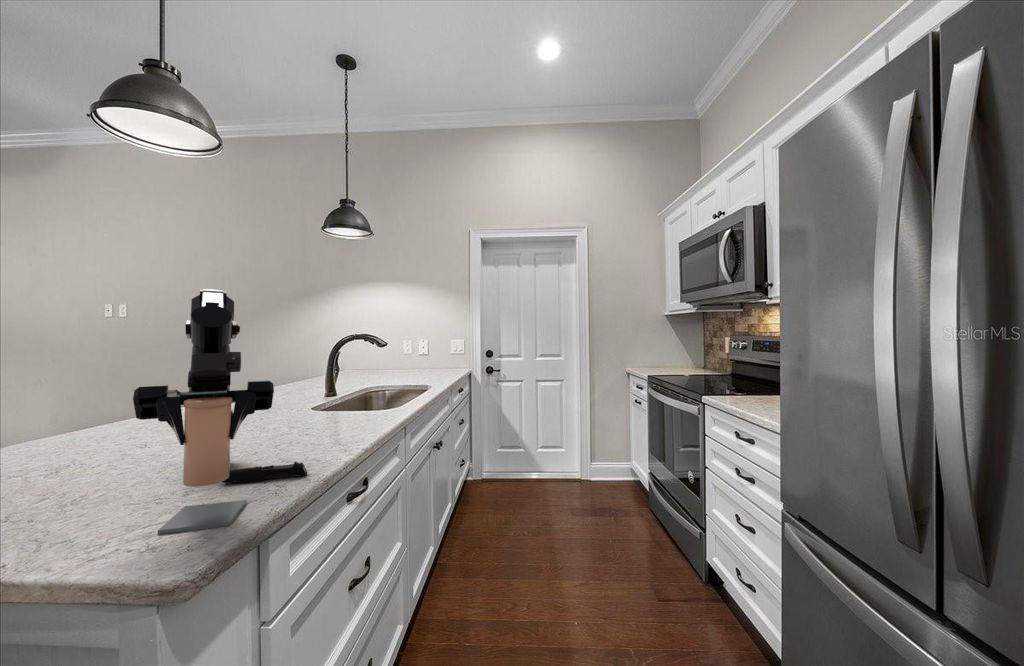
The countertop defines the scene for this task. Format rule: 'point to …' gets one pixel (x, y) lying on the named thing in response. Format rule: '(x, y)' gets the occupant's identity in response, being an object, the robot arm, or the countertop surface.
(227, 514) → the coaster
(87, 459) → the countertop surface
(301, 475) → the electric trimmer
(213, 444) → the tumbler
